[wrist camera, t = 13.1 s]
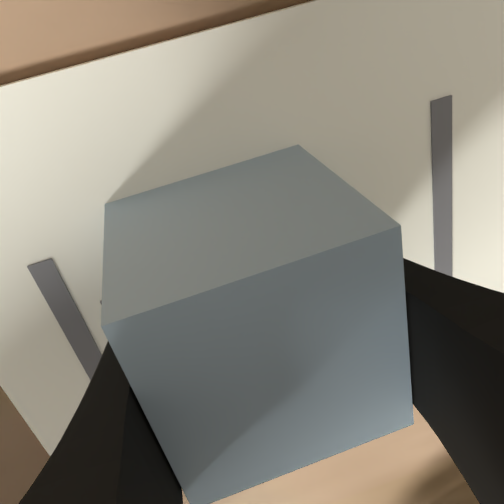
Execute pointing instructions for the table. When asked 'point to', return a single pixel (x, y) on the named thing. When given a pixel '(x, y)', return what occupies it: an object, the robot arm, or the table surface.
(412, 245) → the letter
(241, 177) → the cube
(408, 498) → the table surface
